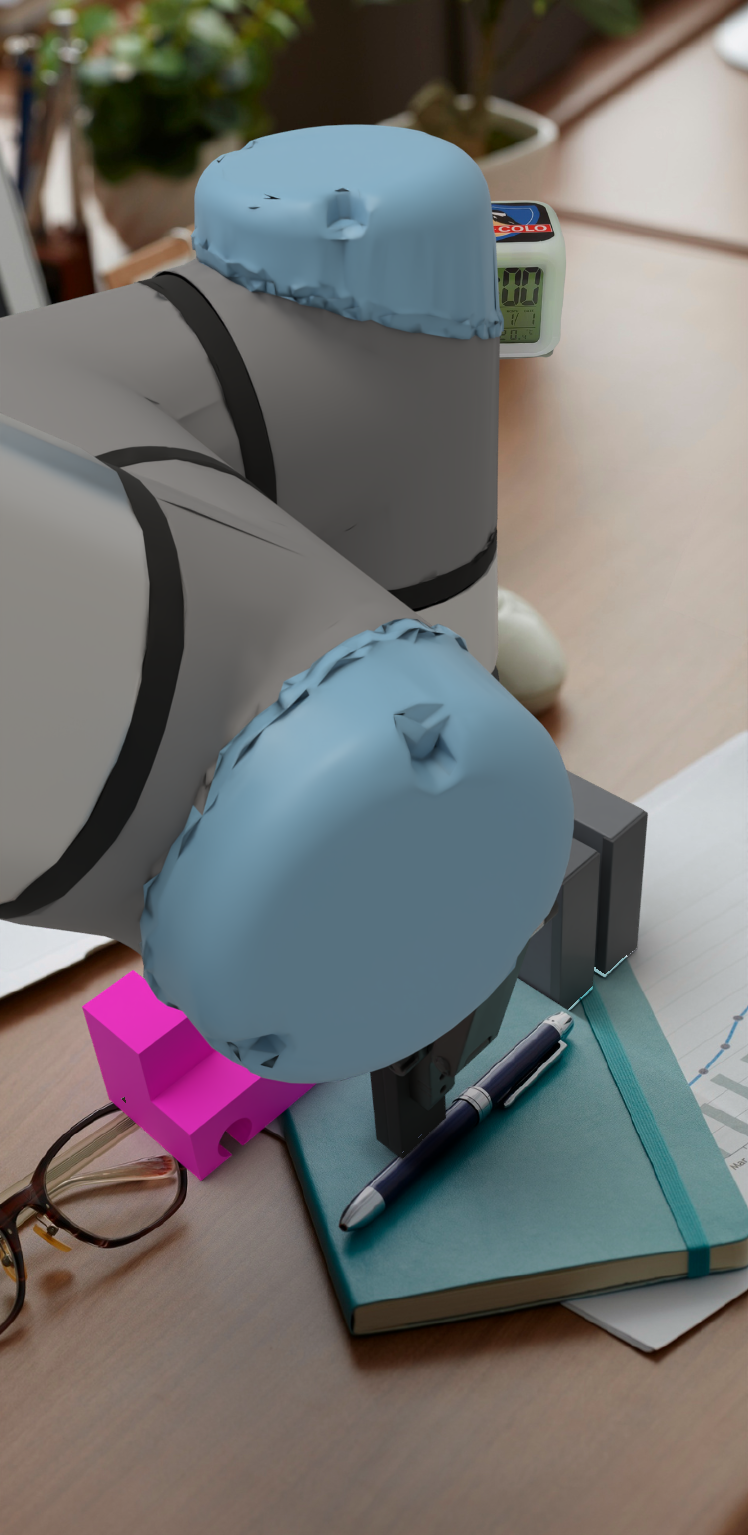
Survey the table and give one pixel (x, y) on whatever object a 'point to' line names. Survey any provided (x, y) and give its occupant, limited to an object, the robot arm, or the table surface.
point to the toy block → (178, 1077)
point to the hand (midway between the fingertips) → (411, 1128)
